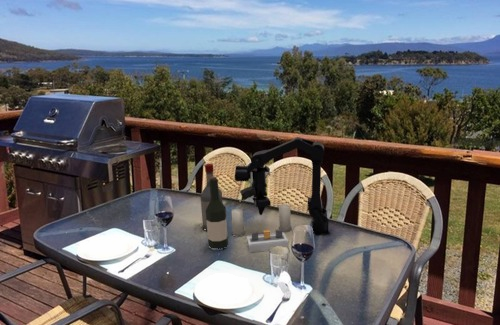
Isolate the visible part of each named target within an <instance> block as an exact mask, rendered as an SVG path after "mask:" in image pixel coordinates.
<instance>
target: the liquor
mask: <svg viewBox="0 0 500 325" xmlns="http://www.w3.org/2000/svg"><path fill="white" fill-rule="evenodd" d="M204 171H205V174H206V175H205V176H206V185H205V187H204V188H203V189H202V192H201V194H200V207H201V220H202V228H204V229H206V230H207V220H206V209H207V207H208V205H209V203H210V201H211V195H210V182H209V180H210V178H211V177H214V171H215V170H214V164H213V163H207V164H205V165H204ZM218 190H219V199H220V200H221V202H222V203H223V192H222V190H221V189H220V188H219V187H218ZM223 204H224V203H223ZM204 229H203V230H204ZM206 230H205V231H206Z"/></svg>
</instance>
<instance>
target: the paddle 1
mask: <svg viewBox="0 0 500 325" xmlns="http://www.w3.org/2000/svg"><path fill="white" fill-rule="evenodd" d="M251 235H252V240H258V235H259V232H258V230H257V231H252V232H251Z"/></svg>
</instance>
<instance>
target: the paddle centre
mask: <svg viewBox="0 0 500 325" xmlns="http://www.w3.org/2000/svg"><path fill="white" fill-rule="evenodd" d="M270 233H271V231H270V229H269V230H267V229H266V230H263V234H264V239H269V238H270Z"/></svg>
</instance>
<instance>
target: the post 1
mask: <svg viewBox="0 0 500 325" xmlns="http://www.w3.org/2000/svg"><path fill="white" fill-rule="evenodd" d="M231 222H232V231H231V235H232V234H233V235H235V236H241V235H244V234H245V235H246V231H245V223H244V210H243V208H234V209H232V210H231ZM233 235H232V236H233ZM245 235H244V236H245ZM235 236H234V237H235ZM241 237H242V236H241Z"/></svg>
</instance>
